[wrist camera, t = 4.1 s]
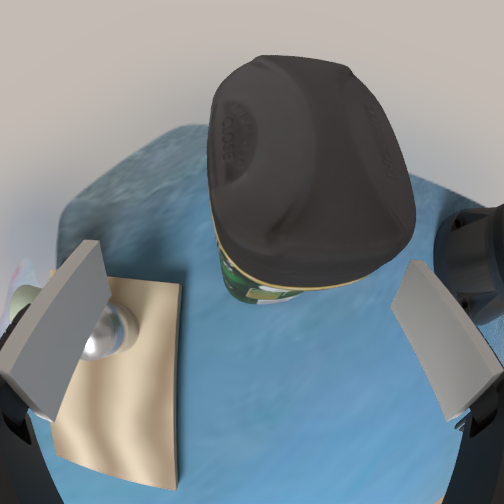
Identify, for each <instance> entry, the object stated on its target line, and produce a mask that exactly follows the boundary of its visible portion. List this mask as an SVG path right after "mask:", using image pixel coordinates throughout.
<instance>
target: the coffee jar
mask: <svg viewBox="0 0 504 504" xmlns="http://www.w3.org/2000/svg"><path fill="white" fill-rule="evenodd" d="M207 170H208V173H207V177H208V188H209V200H210V207H211V213H212V220H213V224H214V231H215V235H216V241H217V246H218V251H219V256H220V263H221V269H222V274H223V279H224V283H225V286H226V288H227V289H228V291H229V292H230V294H231V295H232V296H233V297H235V298H236V299H238V300H239V301H242V302H245V303H250V304H273V303H279V302H284V301H287V300H290V299H293V298H295V297H296V296H298V295H300V294H301V293H302V292H304V291H315V290H324V289H330V288H335V287H340V286H344V285H348V284H351V283H354V282H357V281H359V280H361V279H363V278H365V277H367V276H368V275H370V274H371V273H372V272H374V271H375V270H377V269H378V268H379V267H381V266H382V265H384V264H386V263H387V262H389V261H391V260H392V259H393V258H394V257H396V256H397V255H398V254H399V253H400V252H401V251H402V250H403V249H404V248H405V247H406V245H407V244H408V243H409V241H410V240H411V238H412V235H413V232H414V228H415V222H416V207H415V201H414V196H413V191H412V186H411V182H410V178H409V175H408V171H407V168H406V164H405V161H404V158H403V155H402V152H401V150H400V147H399V144H398V141H397V139H396V136H395V134H394V131H393V129H392V127H391V125H390V123H389V120H388V118H387V117H386V114H385V112H384V110H383V108H382V106H381V105H380V104H379V102H378V101H377V99H376V98H375V96H374V95H373V94H372V93H371V92H370V90H369V89H368V88H367V87H366V86H365V85H364V84H363V83H362V82H361V81H360V80H359V79H358V78H357V77H356V76H355V75H354V74H353V73H352V71H351V70H350V69H349V67H347V66H345V65H342V64H338V63H334V62H329V61H324V60H318V59H312V58H305V57H295V56H279V55H261V56H258V57H256V58H255V59H253V60H252V61H251V62H249V63H246V64H244V65H243V66H241V67H239V68H238V69H236V70H235V71H234V72H232V73H231V74H230V75H229V76H228V77H227V78H226V79H225V80H224V81H223V82H222V83H221V84H220V86H219V88H218V89H217V91H216V93H215V95H214V97H213V102H212V106H211V115H210V123H209V130H208V140H207Z"/></svg>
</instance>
